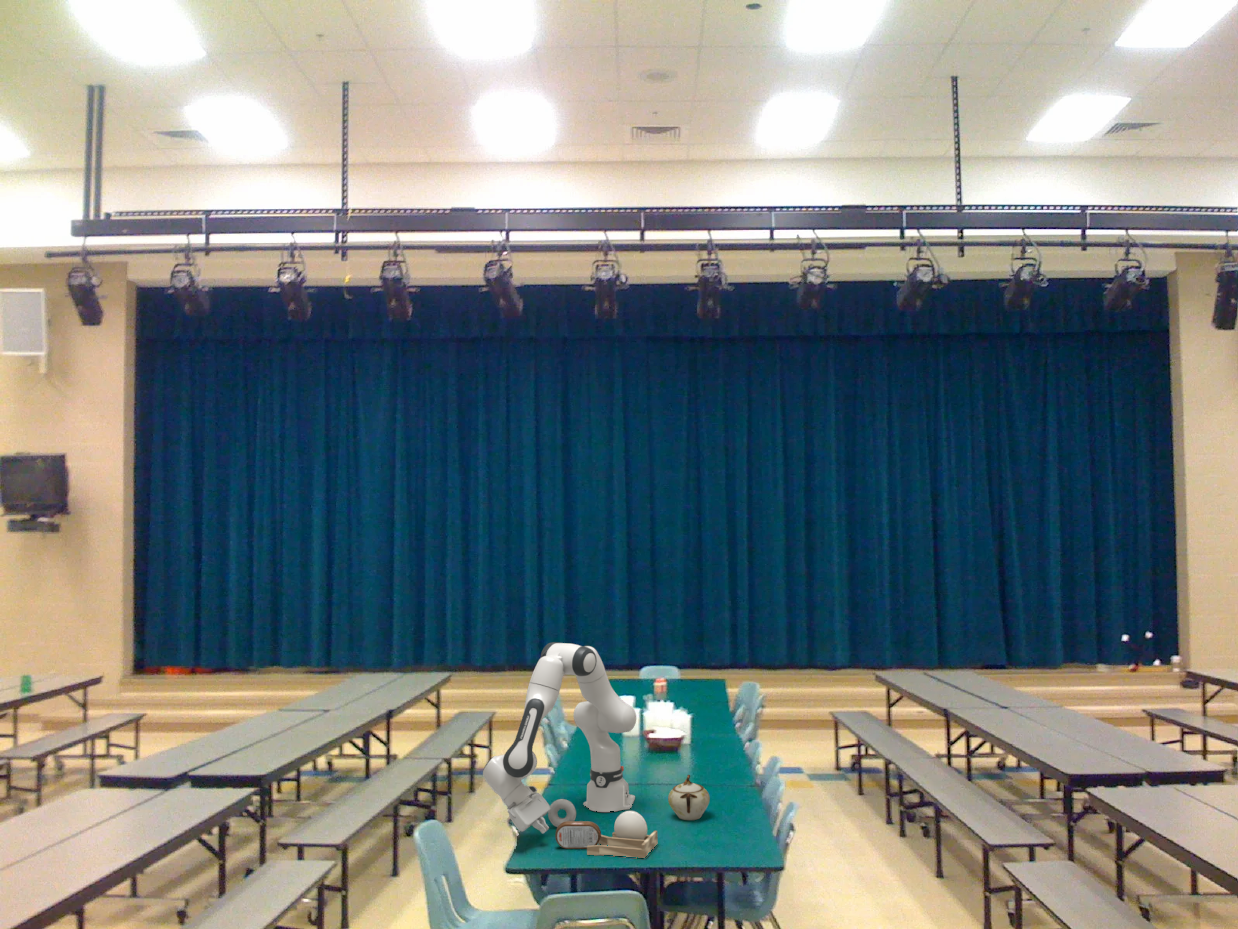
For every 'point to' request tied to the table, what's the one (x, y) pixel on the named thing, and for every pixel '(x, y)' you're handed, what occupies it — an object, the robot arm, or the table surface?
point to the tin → (577, 834)
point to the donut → (557, 806)
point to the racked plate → (630, 826)
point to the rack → (624, 846)
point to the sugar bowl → (688, 800)
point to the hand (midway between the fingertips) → (546, 831)
